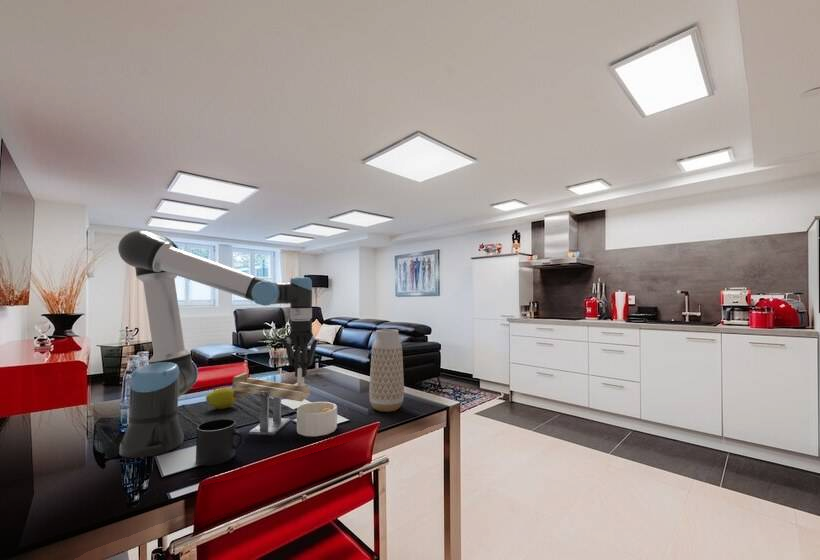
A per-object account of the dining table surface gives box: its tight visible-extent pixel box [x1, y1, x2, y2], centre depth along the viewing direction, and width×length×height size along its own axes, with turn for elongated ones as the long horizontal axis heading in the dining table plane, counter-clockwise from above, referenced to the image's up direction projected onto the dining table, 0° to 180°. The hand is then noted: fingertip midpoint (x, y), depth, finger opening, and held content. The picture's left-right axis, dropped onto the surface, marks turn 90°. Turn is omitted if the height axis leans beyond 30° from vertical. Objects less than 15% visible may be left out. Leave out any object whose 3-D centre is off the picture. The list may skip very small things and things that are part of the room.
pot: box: [296, 401, 338, 437], centre depth 119 cm, size 13×13×7 cm
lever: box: [231, 372, 311, 402], centre depth 124 cm, size 24×15×7 cm, turn 85°
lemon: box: [205, 387, 238, 410], centre depth 139 cm, size 11×8×8 cm
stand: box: [248, 391, 291, 436], centre depth 120 cm, size 8×13×13 cm, turn 176°
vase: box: [368, 328, 405, 413], centre depth 141 cm, size 14×14×31 cm
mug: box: [195, 418, 245, 467], centre depth 97 cm, size 9×12×9 cm
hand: (300, 385), depth 127 cm, fingers closed
